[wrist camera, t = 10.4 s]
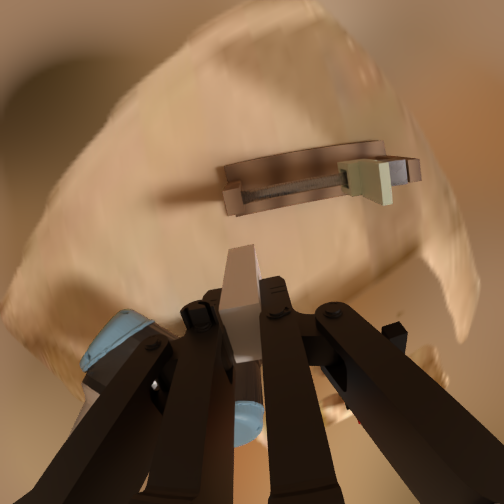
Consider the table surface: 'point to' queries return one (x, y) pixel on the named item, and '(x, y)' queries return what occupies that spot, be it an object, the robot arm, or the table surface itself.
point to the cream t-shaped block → (367, 180)
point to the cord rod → (320, 183)
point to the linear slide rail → (299, 174)
